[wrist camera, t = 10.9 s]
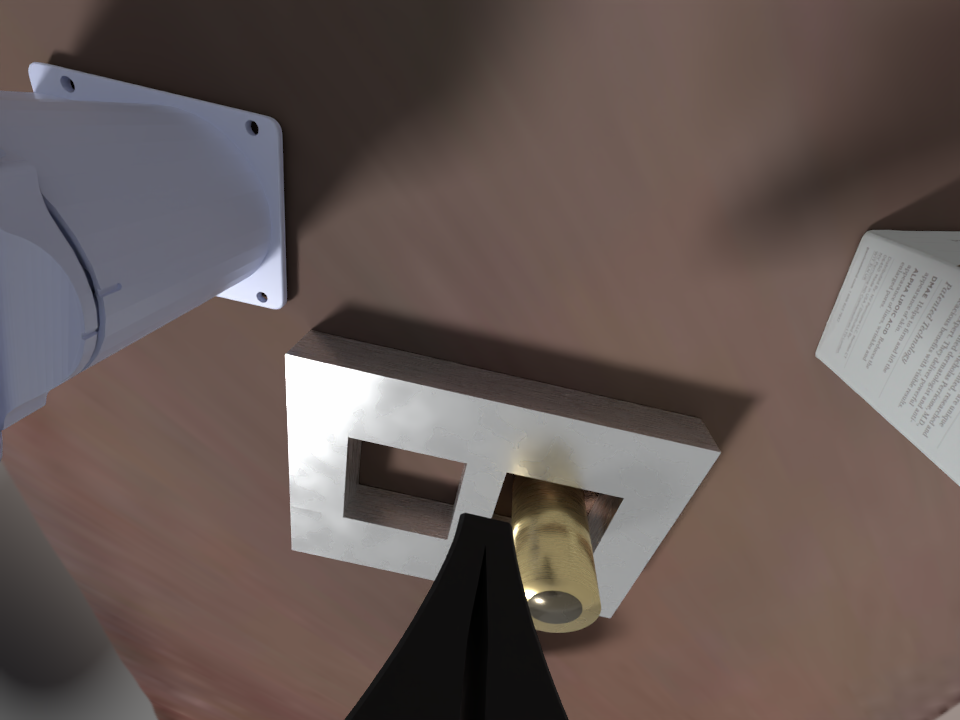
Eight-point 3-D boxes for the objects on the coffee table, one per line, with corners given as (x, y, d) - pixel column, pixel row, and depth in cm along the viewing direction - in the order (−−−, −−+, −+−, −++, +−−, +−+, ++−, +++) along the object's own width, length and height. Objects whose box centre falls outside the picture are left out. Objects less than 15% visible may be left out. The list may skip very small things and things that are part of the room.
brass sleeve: (505, 502, 25) (499, 622, 19) (523, 454, 23) (522, 571, 17) (569, 517, 26) (582, 641, 19) (592, 470, 24) (615, 592, 17)
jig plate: (310, 516, 28) (291, 549, 26) (310, 329, 21) (285, 354, 19) (603, 580, 28) (610, 618, 26) (701, 418, 21) (721, 452, 19)
